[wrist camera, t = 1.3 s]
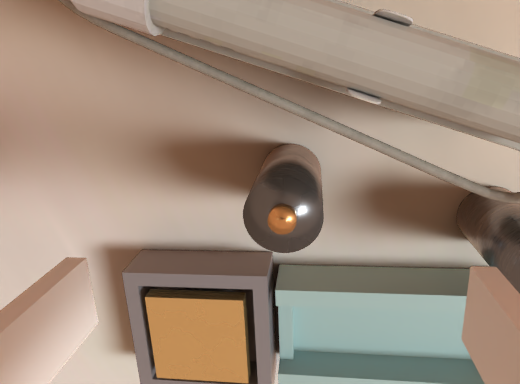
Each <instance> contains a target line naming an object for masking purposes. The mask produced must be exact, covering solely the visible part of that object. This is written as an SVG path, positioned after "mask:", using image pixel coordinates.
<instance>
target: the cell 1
mask: <svg viewBox="0 0 520 384" xmlns="http://www.w3.org/2000/svg"><path fill="white" fill-rule="evenodd" d="M243 219H244V224H245V227H246V229H247V231H248V233H249V235H250V236H251V237H252V239H253V240H254V241H255V242H257V243H258V244H259V245H260V246H262V247H264V248H266V249H268V250H271V251H274V252H279V253H290V252H295V251H299V250H301V249H303V248H305V247H307V246H308V245H310V244H311V243H312V242H313V241H314V240H315V239H316V237H317V236H318V234H319V233H320V231H321V228H322V224H323V199H322V181H321V168H320V164H319V161H318V159H317V157H316V156H315V155H314V154H313V153H312V152H311V151H310V150H309V149H307V148H306V147H303V146H301V145H297V144H286V145H282V146H279V147H277V148H275V149H274V150H273V151H271V152H270V153H269V155H268V156H267V157H266V159H265V161H264V163H263V165H262V167H261V170H260V172H259V174H258V176H257V178H256V180H255V182H254V185H253V187H252V189H251V191H250V193H249V195H248V197H247V200H246V202H245V205H244V210H243Z"/></svg>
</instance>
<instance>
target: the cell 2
mask: <svg viewBox="0 0 520 384" xmlns="http://www.w3.org/2000/svg"><path fill="white" fill-rule="evenodd" d="M487 188H490V189H495V190H499V191H503V192H511V191H509V190H507V189H505V188H502V187H496V186H490V187H487ZM457 223H458V226H459V229H460V230H461V232H462V233H463V234H464V235H465V237H466V238H467V239H468V240H469V241H470V243H471V244H472V245H473V246H474V248H475V249H476V250H477V251H478V252H479V254H480V255H481V256H482V257H483V259H484V260H485V261H486V262H487V263H488V265H489V266H490V267H497V268H498V269H499V271H500V272H501V273H502V274H503V275H504V276H505V278H506V279H507V280H508V281H509V282H510V283H511V284H512V286H513V287H514V288H515V289H516V290H517V291H518V292H519V294H520V203H512V202H502V201H498V200H494V199H489V198H486V197H484V196H481V195H478V194H475V193H473V192H472V193H471V194H469V195H468V196H467V197H466V198H465V199H464V200H463V201H462V203H461V204H460V206H459V209H458V212H457Z"/></svg>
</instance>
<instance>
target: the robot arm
mask: <svg viewBox="0 0 520 384" xmlns="http://www.w3.org/2000/svg"><path fill="white" fill-rule="evenodd" d="M98 323H99V322H98V317H97V312H96V307H95V301H94V296H93V291H92V285H91V280H90V275H89V270H88V264H87V259H86V258H69V257H67V258H65V259H64V260H63V261H62V262H60V263H59V264H58V265H57V266H55V267H54V268H53V269H52V270H50V271H49V272H48V273H47V274H45V275H44V276H43V277H42V278H40V279H39V280H38V281H37V282H35V283H34V284H33V285H32V286H30V287H29V288H28V289H27V290H25V291H24V292H23V293H22V294H20V295H19V296H18V297H17V298H15V299H14V300H13V301H12V302H10V303H9V304H8V305H7V306H5V307H4V308H3V309H2V310H0V384H49V383H50V382H51V381H52V379H53V378H54V377H55V376H56V374H57V373H58V372H59V371H60V370H61V368H62V367H63V366H64V365H65V363H66V362H67V361H68V360H69V359H70V357H71V356H72V355H73V354H74V352H75V351H76V350H77V349H78V348H79V346H80V345H81V344H82V343H83V341H84V340H85V339H86V338H87V337H88V335H89V334H90V333H91V332H92V330H93V329H94V328H95V327H96V326H97V324H98ZM461 339H462V341H463V343H464V345H465V347H466V349H467V351H468V353H469V355H470V357H471V359H472V361H473V362H474V364H475V366H476V368H477V370H478V372H479V374H480V376H481V378H482V380H483V382H484V384H520V294H519V292H518V291H517V290H516V289H515V288H514V287H513V286H512V284H511V283H510V282H509V281H508V280H507V279H506V278H505V276H504V275H503V274H502V273H501V272H500V271H499V269H498V268H497V267H481V266H471V267H470V275H469V283H468V291H467V298H466V306H465V314H464V322H463V330H462V337H461Z"/></svg>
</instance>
